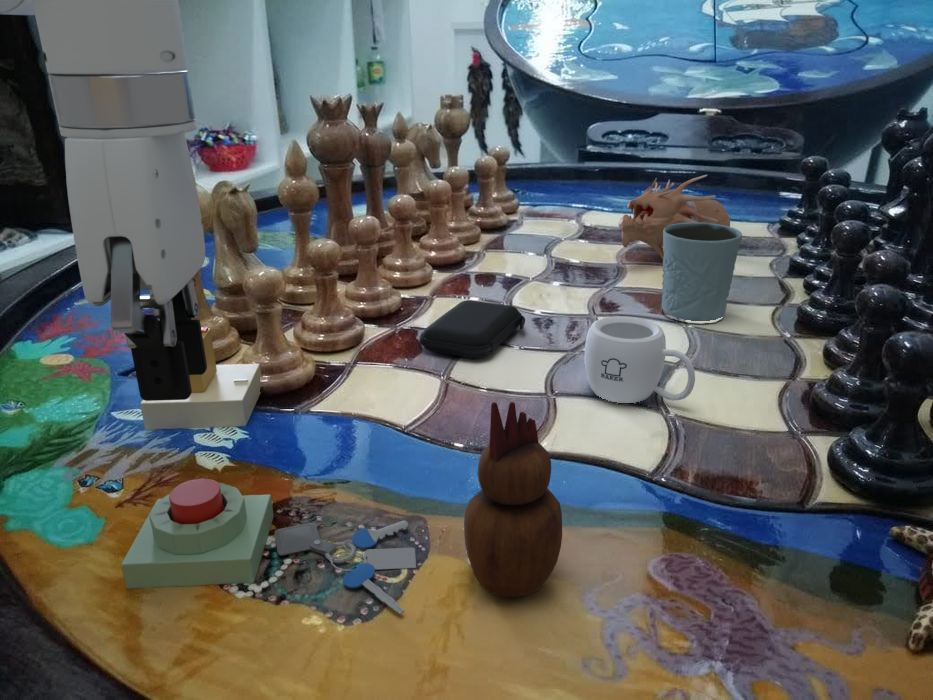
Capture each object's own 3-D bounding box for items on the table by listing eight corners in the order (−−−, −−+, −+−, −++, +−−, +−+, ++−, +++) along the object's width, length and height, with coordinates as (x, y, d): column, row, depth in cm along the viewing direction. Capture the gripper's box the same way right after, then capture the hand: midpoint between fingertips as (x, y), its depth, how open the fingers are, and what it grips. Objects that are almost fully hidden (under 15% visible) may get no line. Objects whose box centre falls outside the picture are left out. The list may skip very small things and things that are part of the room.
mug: (568, 398, 79) (572, 331, 76) (601, 371, 86) (605, 308, 83) (677, 428, 73) (686, 356, 70) (703, 396, 80) (712, 329, 77)
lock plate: (144, 430, 73) (139, 402, 72) (172, 390, 82) (167, 364, 80) (246, 426, 74) (242, 398, 73) (263, 387, 82) (259, 361, 81)
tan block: (204, 392, 74) (196, 344, 72) (188, 392, 74) (180, 345, 72) (217, 371, 79) (210, 326, 77) (202, 371, 79) (194, 326, 77)
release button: (166, 527, 53) (162, 507, 52) (180, 498, 56) (177, 479, 56) (216, 525, 53) (213, 505, 52) (228, 496, 56) (225, 477, 56)
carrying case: (493, 367, 87) (533, 326, 99) (493, 343, 86) (534, 304, 98) (413, 353, 91) (462, 315, 103) (413, 330, 90) (462, 294, 102)
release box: (126, 589, 52) (115, 543, 51) (161, 521, 60) (153, 479, 58) (254, 583, 53) (247, 538, 51) (273, 516, 60) (268, 475, 58)
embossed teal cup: (733, 308, 106) (745, 226, 101) (724, 331, 97) (737, 243, 92) (662, 298, 109) (671, 219, 105) (648, 320, 101) (656, 235, 96)
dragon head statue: (737, 175, 130) (696, 167, 110) (738, 260, 132) (698, 268, 112) (664, 183, 138) (613, 177, 117) (666, 263, 140) (616, 271, 119)
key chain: (257, 547, 56) (256, 538, 56) (331, 496, 63) (331, 488, 62) (400, 621, 49) (399, 611, 49) (468, 554, 55) (467, 545, 55)
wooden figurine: (478, 618, 49) (479, 423, 43) (455, 564, 54) (453, 382, 49) (571, 598, 51) (584, 407, 45) (540, 547, 56) (548, 370, 50)
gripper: (113, 96, 51) (158, 341, 58) (-14, 121, 36) (68, 448, 43) (224, 95, 51) (255, 339, 58) (144, 120, 36) (199, 444, 43)
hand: (175, 383), depth 51 cm, fingers open, 3 cm apart
